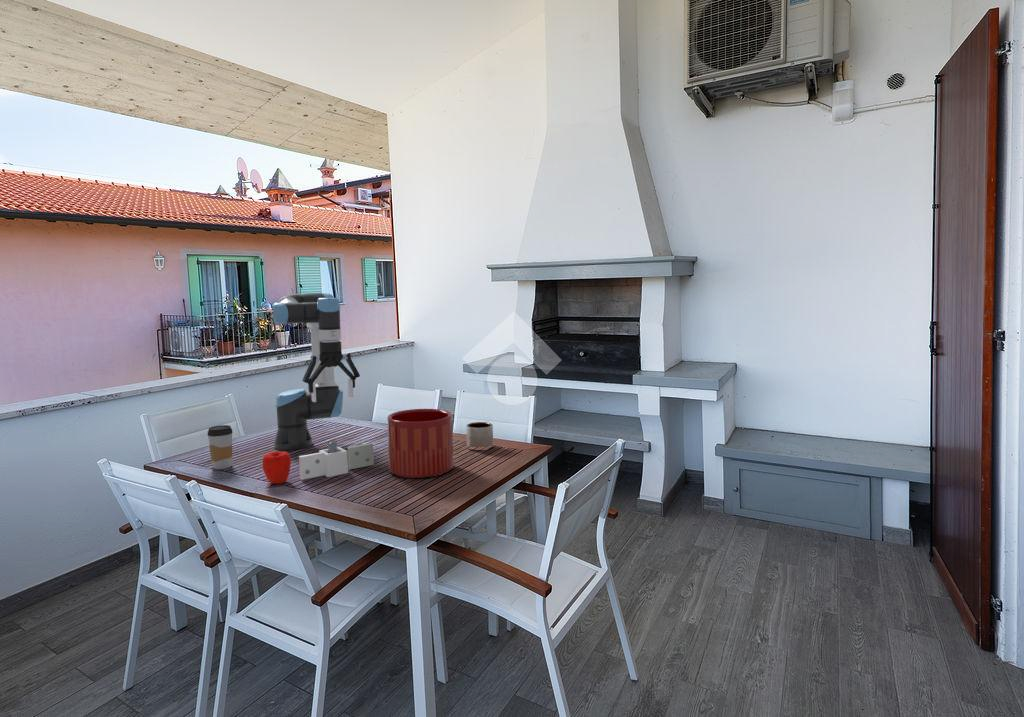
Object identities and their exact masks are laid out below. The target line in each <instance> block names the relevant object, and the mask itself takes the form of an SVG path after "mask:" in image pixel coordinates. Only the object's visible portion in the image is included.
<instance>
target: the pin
mask: <svg viewBox="0 0 1024 717" xmlns="http://www.w3.org/2000/svg"><path fill="white" fill-rule="evenodd" d="M337 447H338V443H337V441H335V440H334V441H328V443H327V449H328V453H334V452H337Z"/></svg>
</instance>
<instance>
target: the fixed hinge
mask: <svg viewBox="0 0 1024 717" xmlns="http://www.w3.org/2000/svg"><path fill="white" fill-rule="evenodd" d="M298 463H299V464H298V466H299V479H300V480H301V481H302V480H307V479H313V478H318V477H323V476H325V477H327V478H331V477H336V476H341V475H345V474H348V473H349V467H348V450H345V449H344V448H342V447H341V446H337V452H334V453H328V448H324V449H321V450H320V449H319V450H318V452H315V453H309V454H304V455H299V456H298Z"/></svg>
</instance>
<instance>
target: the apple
mask: <svg viewBox="0 0 1024 717" xmlns="http://www.w3.org/2000/svg"><path fill="white" fill-rule="evenodd" d="M291 463H292V460H291V455H290V453H289V452H287V451H283V450H280V451H279V450H278V451H272V452H269V453H266V454H265V455H264V456H263V458H262V470H263V473H264V475H265V477H266V479H267V481H268V482H269V483H270V484H274V485H275V484H277V485H278V484H283V483H285V482H287V480H288V479H289V477H290V476H289V475H290V471H291Z"/></svg>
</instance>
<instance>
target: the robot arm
mask: <svg viewBox="0 0 1024 717" xmlns="http://www.w3.org/2000/svg"><path fill="white" fill-rule="evenodd" d="M272 311H273V312H272V314H273V322H274V324H279V325H280V324H281V325H286V324H306V326H307V327H308V328H309V331H310V342H311V356H310V361H309V364H308V367H307V369H306V371H305V373H304V375H303V377H302V382H303V383H305V384H307V387H308V388H307V389H308V391H306V389H305V388H296V389H291V390H286V391H283V392H281V393H278V394H277V396H276V397H275V400H276V401H275V402H276V404H275V407H276V420H277V421H276V423H277V429H276V434H275V438H274V440H273V446H274V449H276V450H278V451H279V450H280V451H289V450H290V451H292V450H299V449H305V448H308V447H310V446H312V445H313V437H312V434H311V432H310V430H309V428H308V420H320V419H331V418H337V417H340V416H341V414H342V411H343V402H344V391H343V390H342V389H340V387H339V384H338V383H336V379H335V378H336V377H335V368H336V367H337V366H338V367H339V368H340V369H341V370H342V371H343V372H344V373H345V374H346V375H347V376H348V378H347V391H348V397H350V398H354V389H355V388H356V379H357V378H360V377H361V373H360V372H359V371H358V369H357V367H356V365H355V363H354V362H353V360H352V356H351V353H349V352H345V353H343V352H342V341H341V339H342V334H341V332H342V331H341V306H340V300H339V298H338V297H334V295H333V294H332V293H323V292H316V293H315V292H314V293H313V292H312V293H311V292H310V293H301V292H300V293H292V294H287V295H285V296H282V297H280V298H279V299H278V300H276V303H274V304H272ZM343 359H344V360H345V362H346V363H347V364H348V366H349V369H350V370H351V371H350V370H349V369H348V367H347V366H345V364H344V363H343V362H342V360H343Z"/></svg>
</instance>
